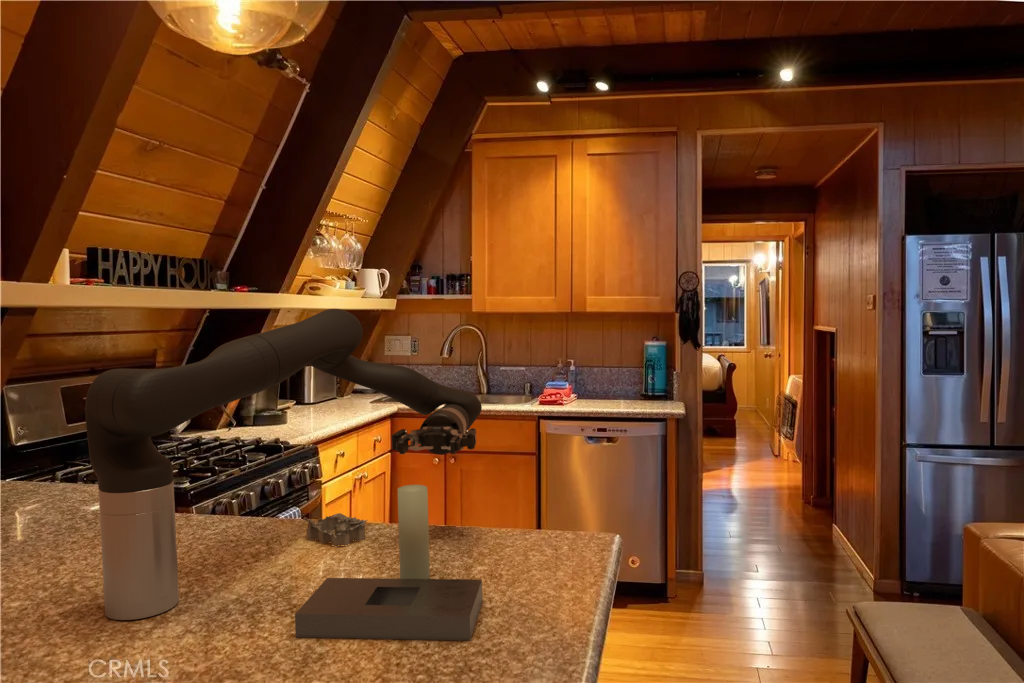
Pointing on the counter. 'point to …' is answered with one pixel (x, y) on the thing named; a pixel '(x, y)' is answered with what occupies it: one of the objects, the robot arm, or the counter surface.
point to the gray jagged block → (336, 529)
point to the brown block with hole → (391, 609)
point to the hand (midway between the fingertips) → (426, 447)
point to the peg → (413, 532)
